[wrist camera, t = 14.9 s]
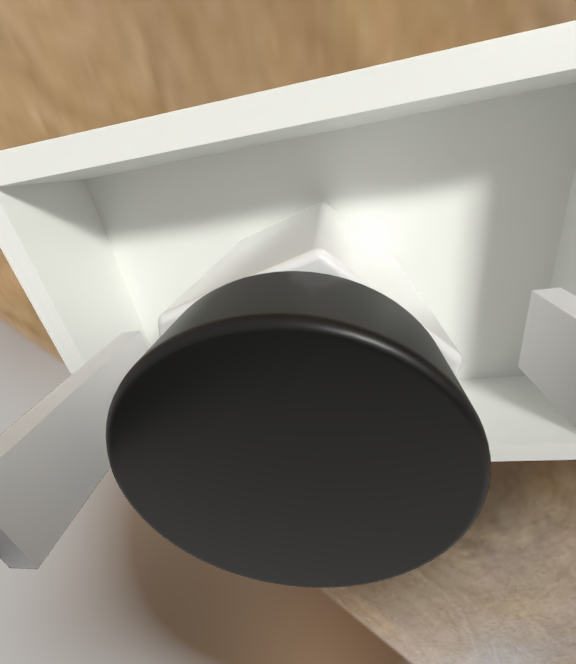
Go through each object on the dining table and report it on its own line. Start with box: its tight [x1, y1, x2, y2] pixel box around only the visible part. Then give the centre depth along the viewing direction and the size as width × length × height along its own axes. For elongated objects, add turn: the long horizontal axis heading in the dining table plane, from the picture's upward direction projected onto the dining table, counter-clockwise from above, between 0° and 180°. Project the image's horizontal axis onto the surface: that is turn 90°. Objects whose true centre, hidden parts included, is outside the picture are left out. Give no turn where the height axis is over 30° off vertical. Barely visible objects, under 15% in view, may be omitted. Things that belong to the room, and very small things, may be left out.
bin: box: [0, 20, 576, 462], centre depth 15 cm, size 24×16×6 cm, turn 99°
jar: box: [106, 202, 491, 588], centre depth 12 cm, size 9×8×12 cm
